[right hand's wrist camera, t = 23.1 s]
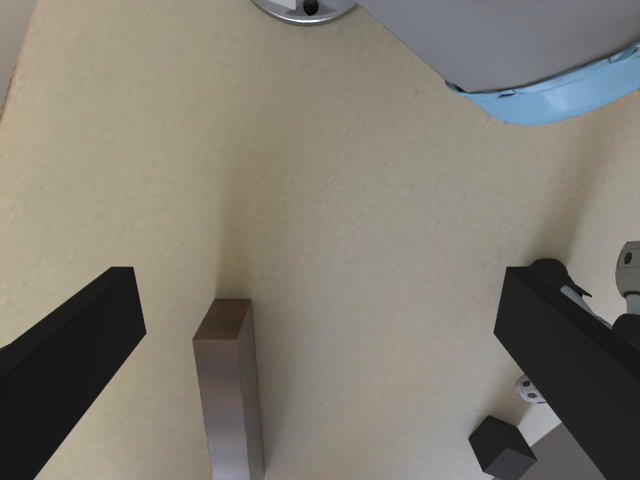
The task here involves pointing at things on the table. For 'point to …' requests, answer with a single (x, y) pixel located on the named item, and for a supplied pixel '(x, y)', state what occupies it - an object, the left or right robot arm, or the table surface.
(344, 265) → the table surface
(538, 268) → the robot
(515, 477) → the charcoal rubber block
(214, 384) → the walnut plank
